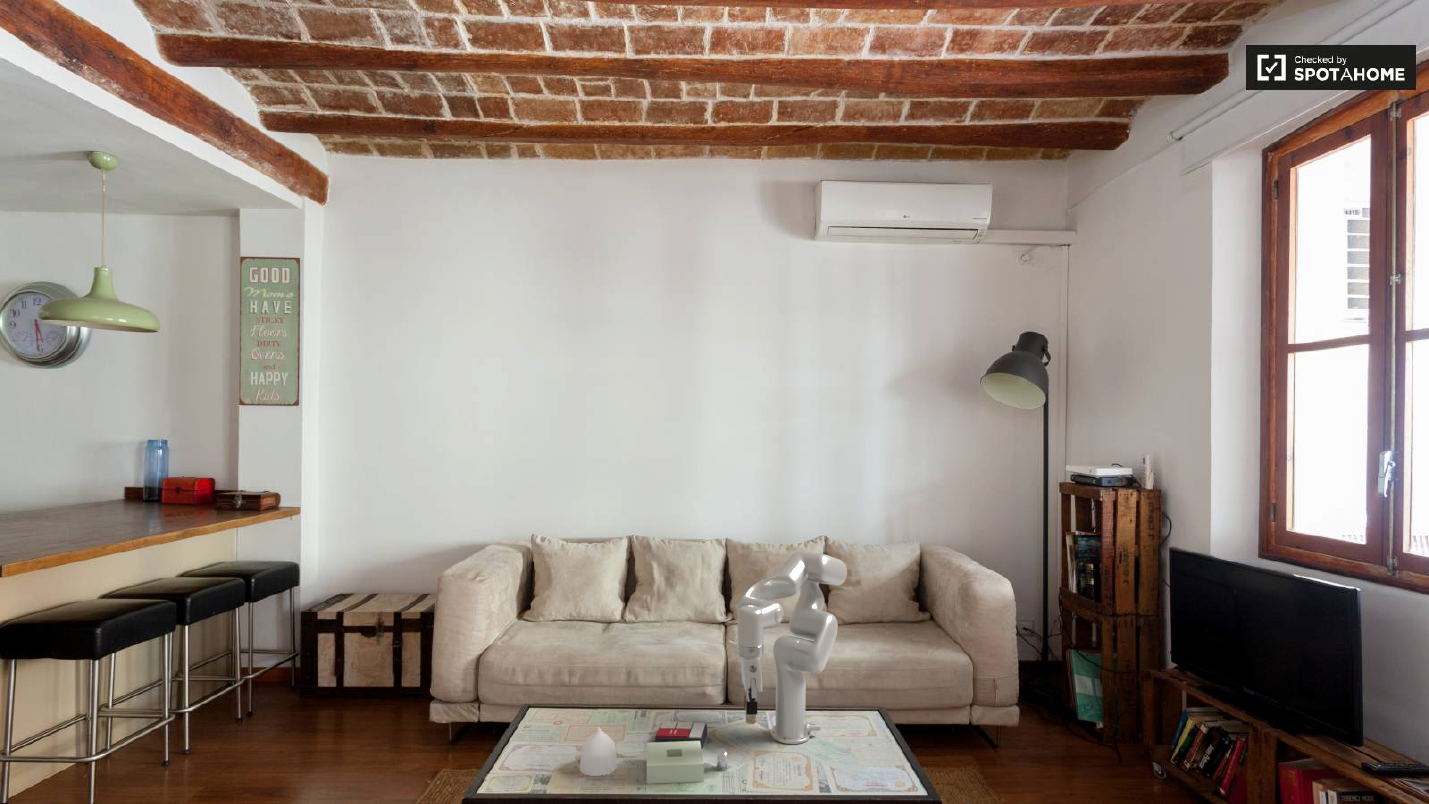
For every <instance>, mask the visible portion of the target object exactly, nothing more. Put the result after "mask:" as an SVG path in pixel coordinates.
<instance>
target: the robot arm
mask: <svg viewBox="0 0 1429 804" xmlns="http://www.w3.org/2000/svg"><path fill="white" fill-rule="evenodd" d="M847 575H848V568H847V565H846V563H845V562H843V560H841V559H839V558H836V557H833V556H830V555H828V554H825V553H818V552H813V551H806V550H797V551H795V552H793V553H792V554H790V557H788V559H786V562H785V563H784V564H783V565H782V566H781V568H780V569H779V570H778V571H777V572H776V574H775V575H773V576H770V577H767V578H765V579H762V580H760V581H758V582H756V583H754V584H752V585H751V586H750V587H749V588H748V589H747V590H746V591H745V593H744V594H743V595H742V596H741V597H740V599H739V601H738V604H737V607H736V614H737V655H738V657H740V658H741V681H742V684H743V685H742V686H743V688H744V705H743V706H744V709H745V715H746V714H747V715H756V716H757V714H758V692H760V693H762V692H763V677H762V676H763V675H762V659H761V658H762V657H763V656H764V631H765V630H768V629H772V628H775V627H778V626H779V625H780V624H781V623H782V621H783V618H784V615H785V613H784V608H783V606H782V605H781V604H780V603H778V602H776V601H772V600H781V599H785V598H786V599H787V598H790V597H794V596H795V595H796V594H797V593H798V591H800V593H799V597H798V599H797V601H796V604H795V607H794V609H793V611H792V614H791V617H790V619H789V623H788V629H789V632H790V633H791V634H792V635H794V636H792V635H781V636H779V637H778V638H777V639H776V640H775V641H774V644H773V646H772V655H773V661H774V668H775V725H774V726H773V727H772V728H771V729H770V736H771V738H772V739H773V740H775V741H776V742H778V743H781V744H784V745H785V744H786V745H799V744H800V745H801V744H803V743H805V742H807V741H808V740H810V737H811V731H812V732H813V731H814V732H819V731H821V725H820V723H817V724H815V722H814V721H809V722H808V721H807V720H806V700H807V699H806V695H807V694H806V688H807V686H806V684H807V683H806V677H805V675H804V673H803V672H805V673H806V672H807V673H810V674H821V672H823V671H824V669H825V668H826V665H827V663H828V660H829V657H830V656H831V652H832V649H833V647H834V644H835V642H836V638H837V635H838V628H839V627H838V626H839V625H838V619H837V618H836V616H835V615H834V614H832V613H830V612H827V611H823V608H824V605H825V597H824V593H823V592H822V589H821V588H820V586H819V584H824V585H831V586H842V585H843V584H844V582H845V581H846V580H847ZM749 689H751V690H749ZM746 692H747V701H746ZM749 693H751V695H750V696H749Z"/></svg>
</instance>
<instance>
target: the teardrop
mask: <svg viewBox="0 0 1429 804" xmlns="http://www.w3.org/2000/svg"><path fill="white" fill-rule="evenodd" d="M617 757H618V755H617V746H616V744H615V742H614V740H613V739H612V737H610V736H609V735H608V734H606V733H605V732H604V731H602V729H601V728H600V726H598V727H597V729H596V730H595V731H594V732H593V733H591V734H589V736H588V737H587V739H585V741H584V743H583V744H582V746H581V750H580V762H579V771H581V773H582V774H584V775H587V776H592V777H598V776H599V777H601V775H603V776H606V775H608V773H609V774H612V773H613V772H615V771H616V770H617V769H618V758H617ZM615 769H616V770H615ZM614 770H615V771H614ZM612 771H613V772H612ZM611 772H612V773H611ZM605 774H606V775H605Z"/></svg>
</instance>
